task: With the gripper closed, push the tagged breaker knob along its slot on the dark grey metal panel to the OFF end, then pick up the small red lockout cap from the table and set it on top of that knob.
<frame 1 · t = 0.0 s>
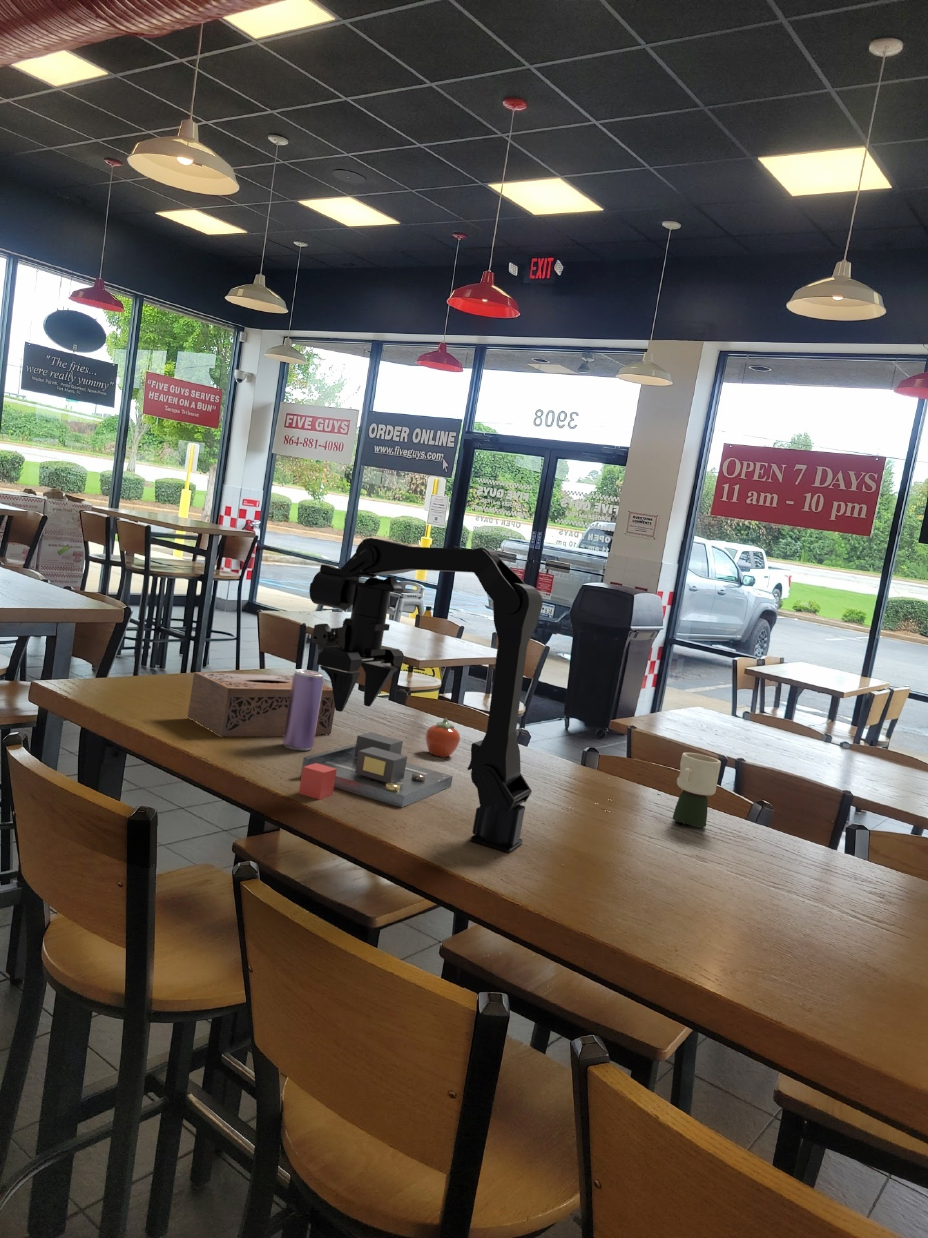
hand: (353, 708, 147), 15 cm above the table, tool pointing down, fingers open, 9 cm apart
beverage can: (297, 748, 175), on the table
lockout cap: (315, 794, 146), on the table
tissue box cover: (260, 729, 186), on the table
breaker B: (378, 748, 167), point 4 cm above the table, slide at 6.0 cm
breaker panel: (378, 782, 160), on the table
character mug: (688, 826, 167), on the table
tomato: (439, 755, 189), on the table
breaker A: (381, 764, 155), point 4 cm above the table, slide at 0.0 cm
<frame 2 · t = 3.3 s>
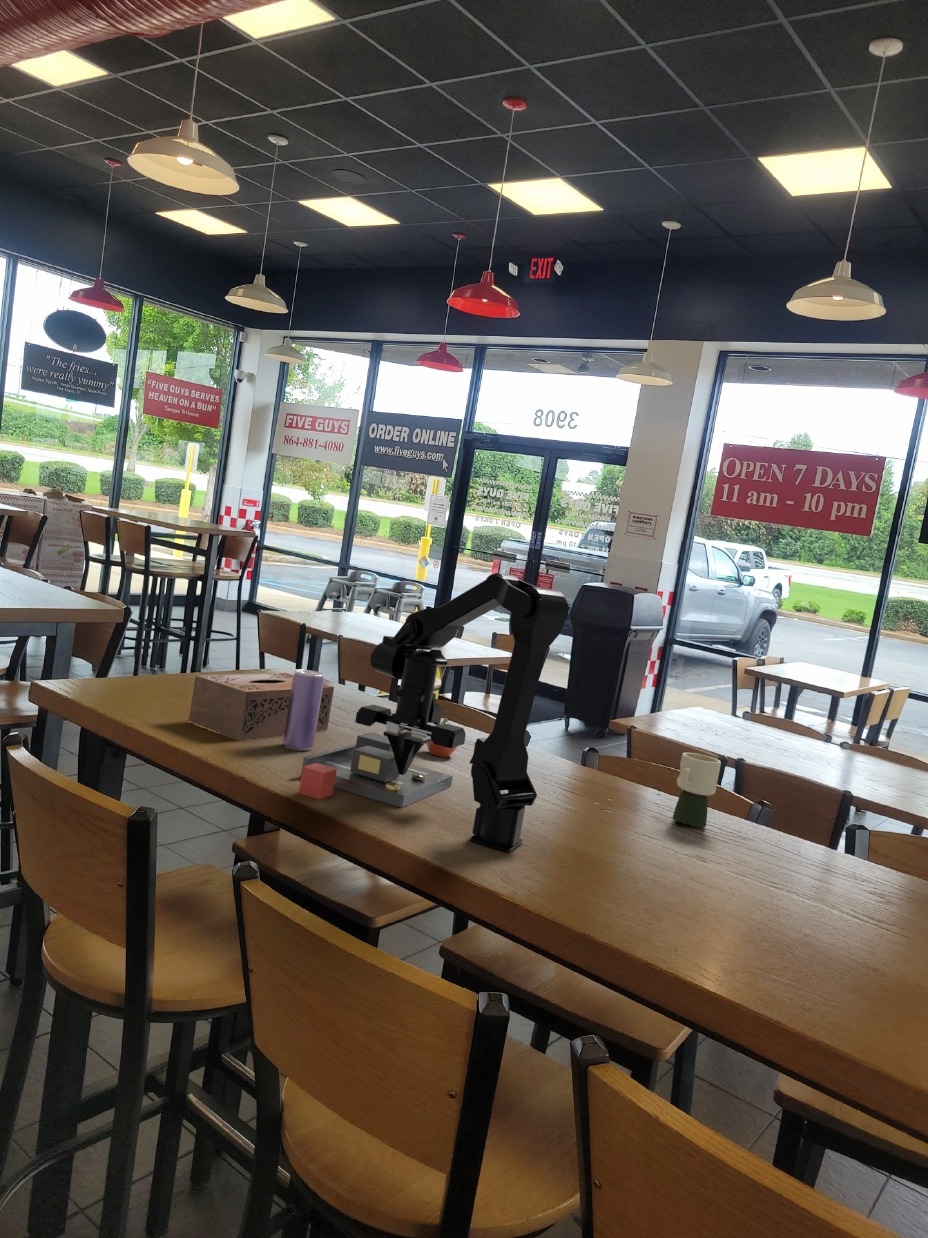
hand: (402, 774, 154), 4 cm above the table, tool pointing down, fingers closed
breaker A: (376, 763, 155), point 4 cm above the table, slide at 1.0 cm, touching gripper
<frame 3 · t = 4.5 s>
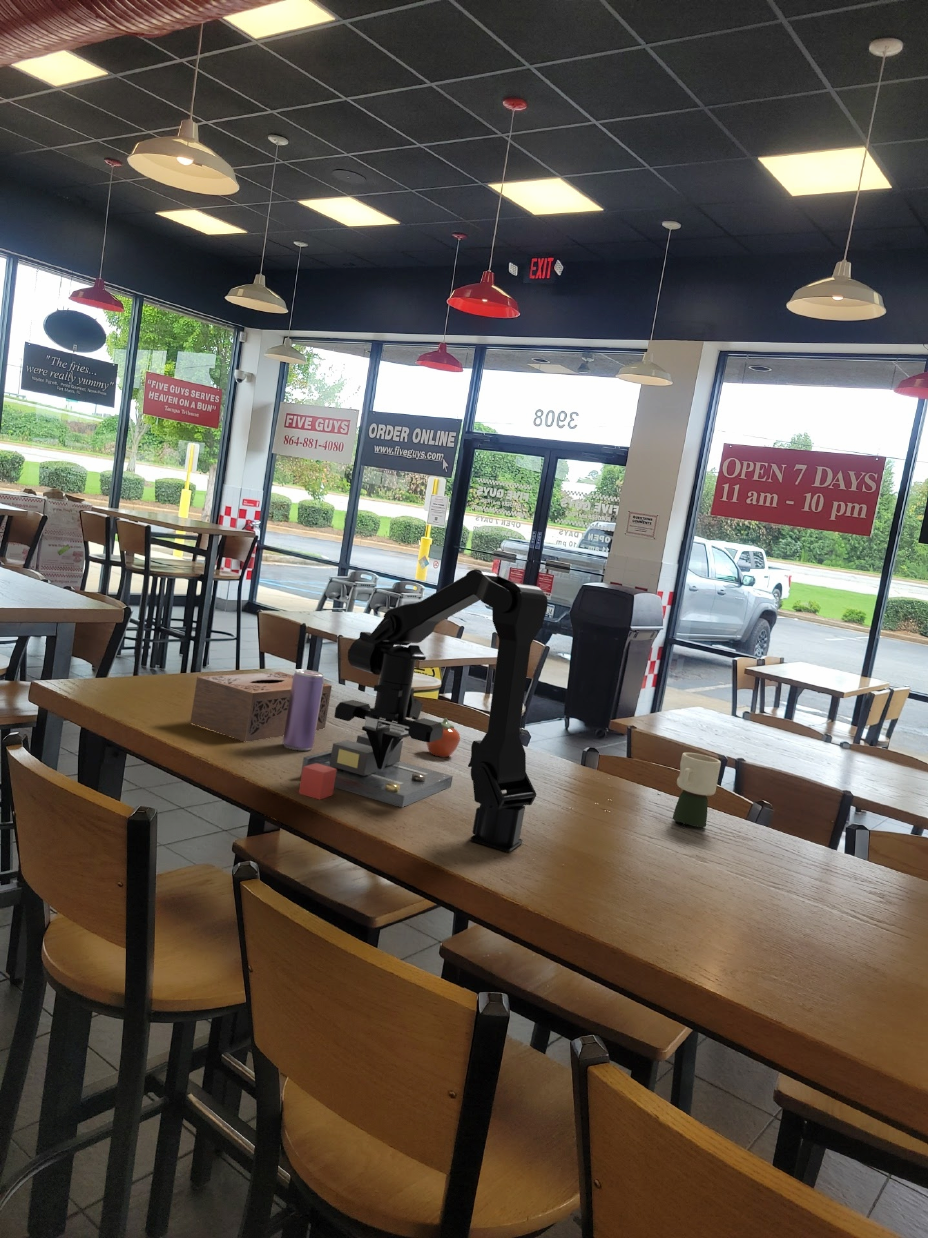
hand: (380, 768, 155), 4 cm above the table, tool pointing down, fingers closed
breaker A: (355, 757, 157), point 4 cm above the table, slide at 5.2 cm, touching gripper
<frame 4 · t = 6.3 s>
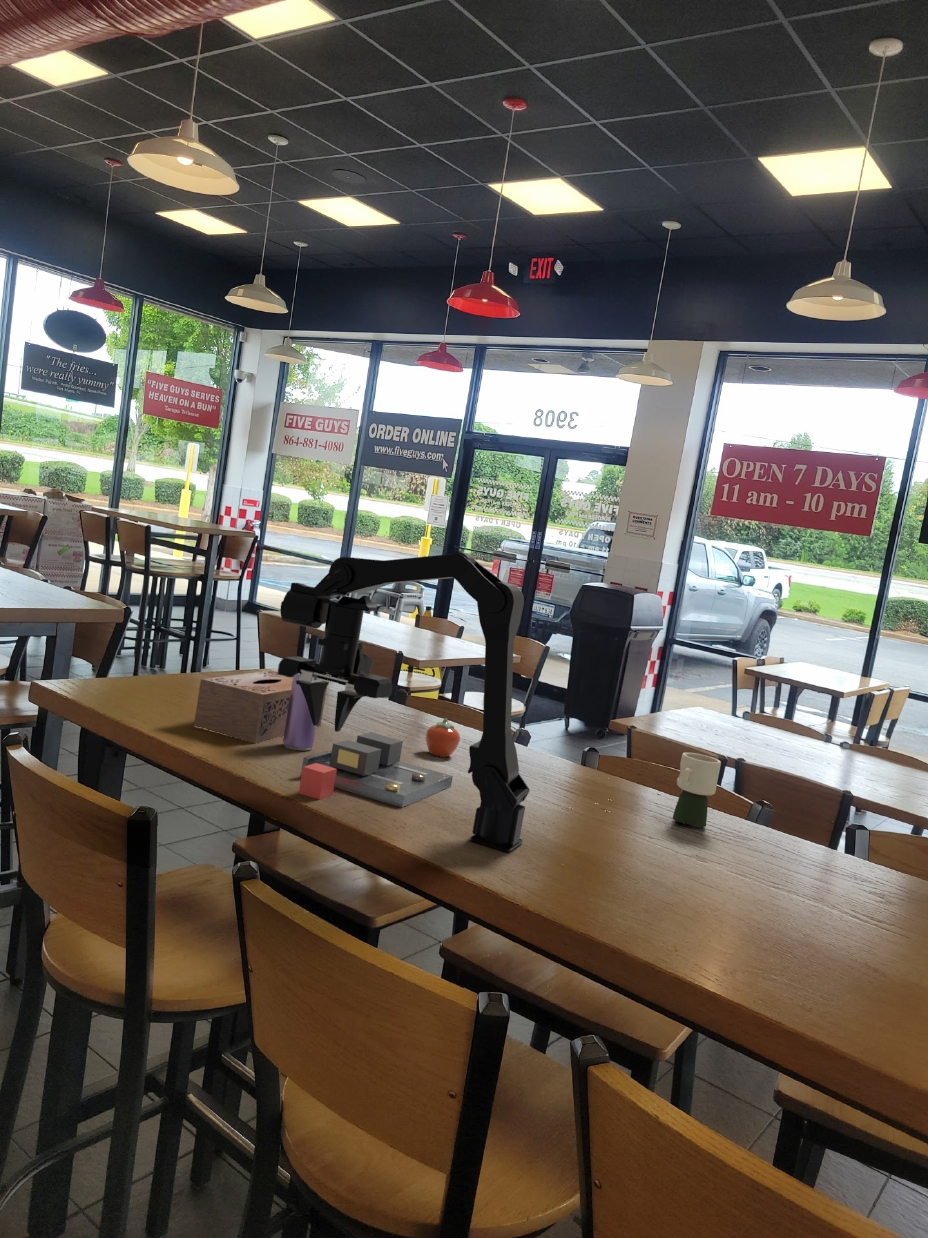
hand: (326, 728, 145), 11 cm above the table, tool pointing down, fingers open, 4 cm apart
breaker A: (355, 757, 157), point 4 cm above the table, slide at 5.2 cm
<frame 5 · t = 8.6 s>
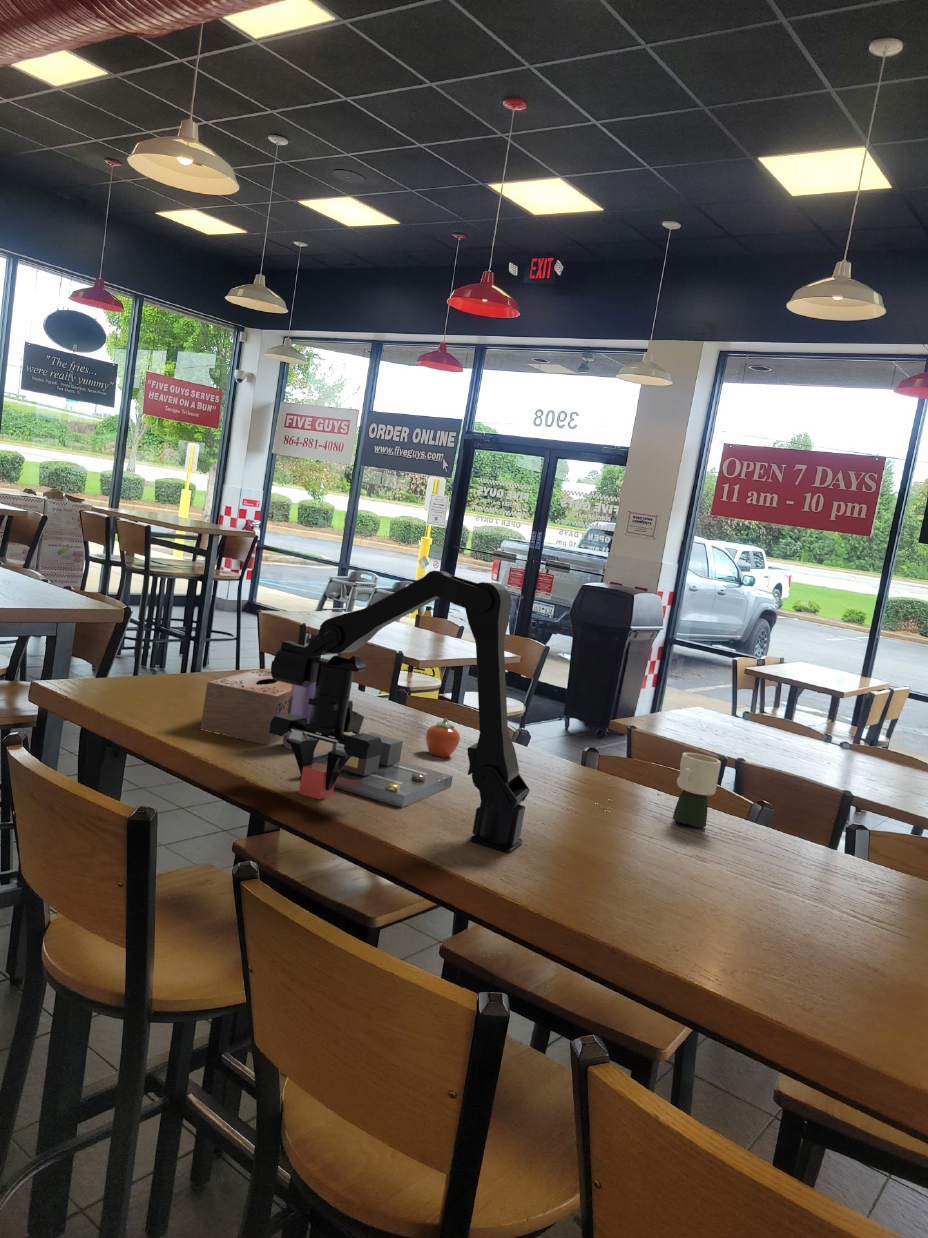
hand: (317, 786, 146), 1 cm above the table, tool pointing down, fingers closed on lockout cap, 4 cm apart
lockout cap: (315, 794, 146), on the table, touching gripper
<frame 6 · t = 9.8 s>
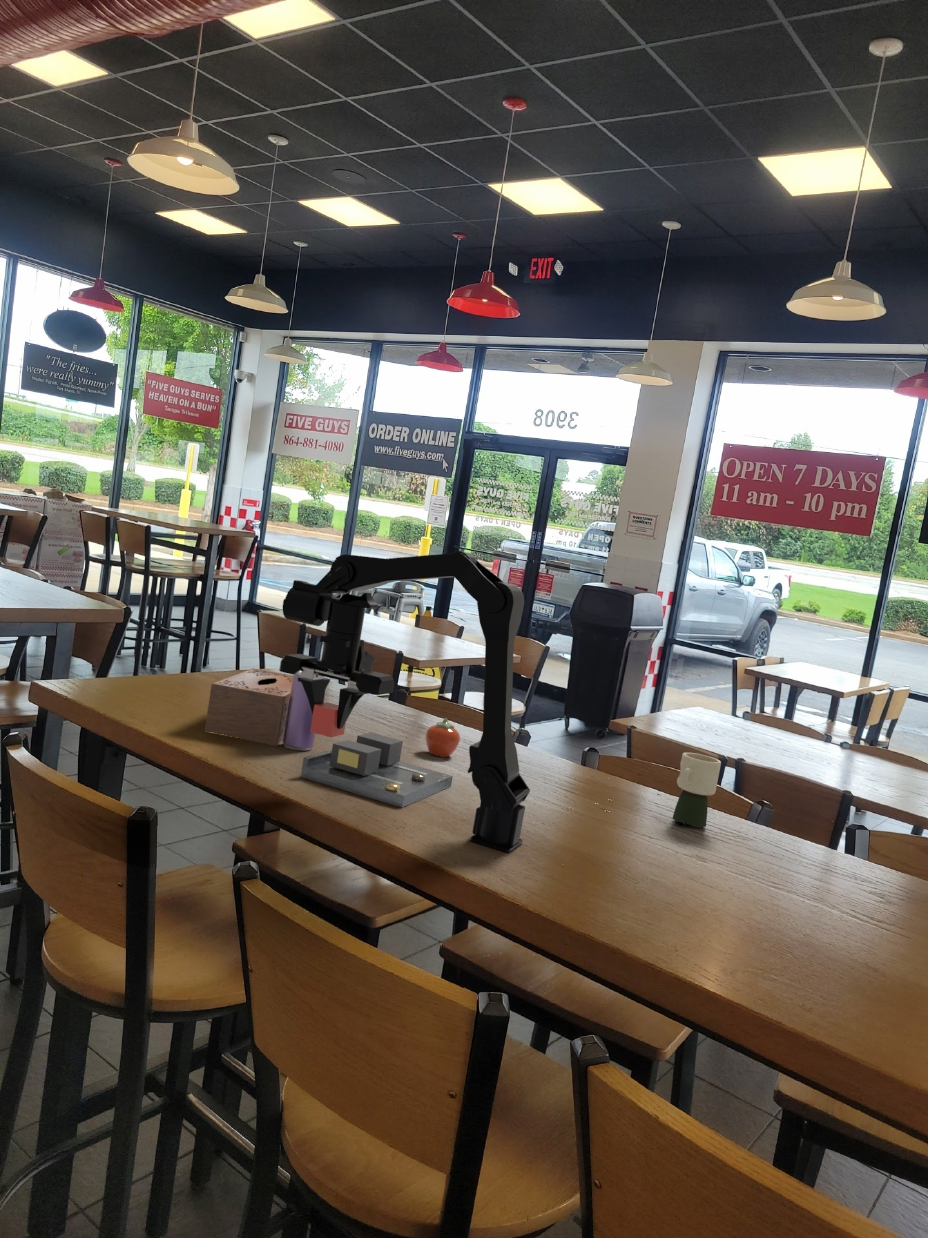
hand: (328, 725, 146), 11 cm above the table, tool pointing down, fingers closed on lockout cap, 4 cm apart
lockout cap: (327, 733, 146), point 10 cm above the table, touching gripper
when the fingers open (9 cm above the table, at t = 11.2 s): lockout cap drops 1 cm, resting on breaker A.
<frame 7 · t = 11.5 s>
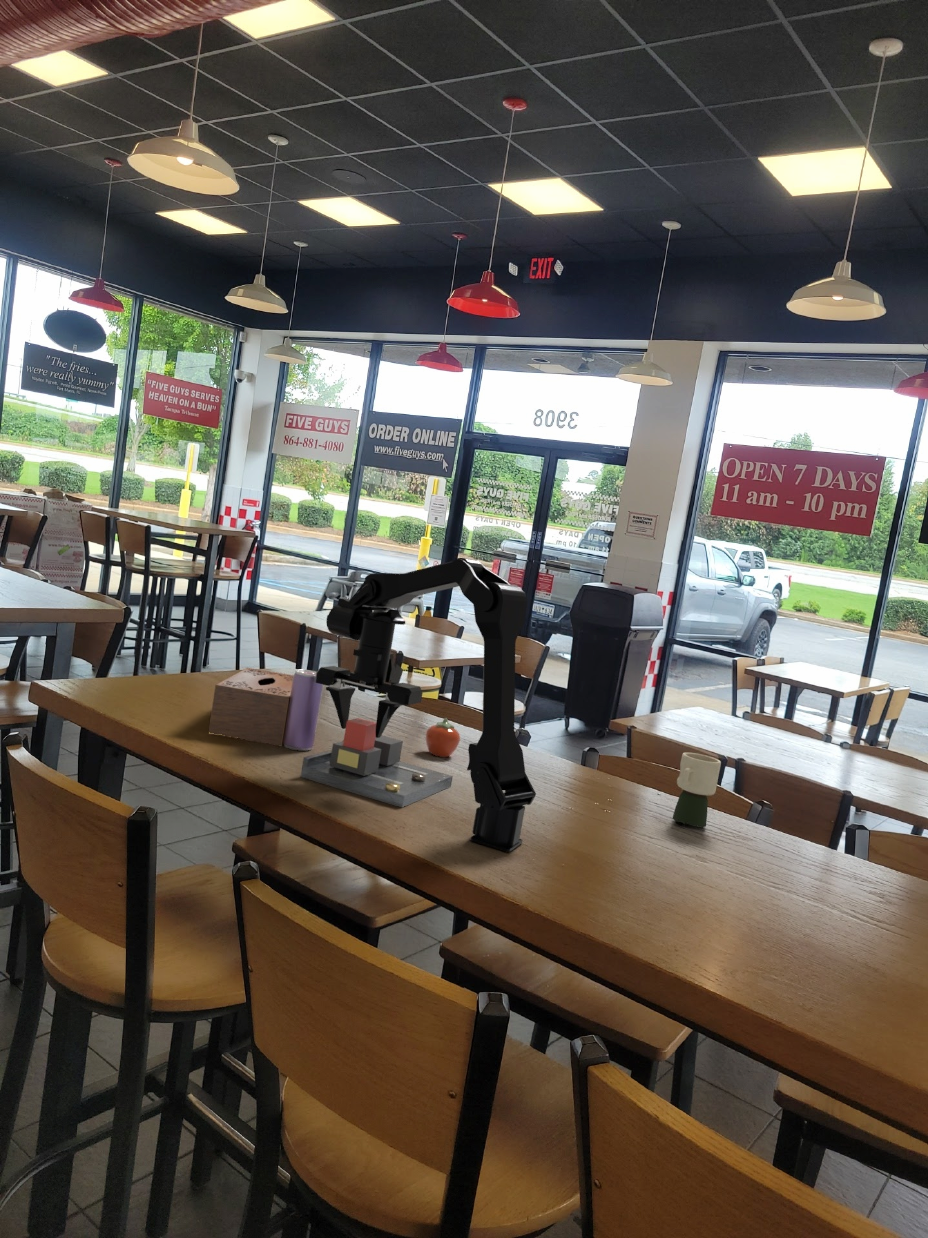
hand: (360, 733, 157), 9 cm above the table, tool pointing down, fingers open, 7 cm apart
lockout cap: (358, 746, 157), point 6 cm above the table, touching breaker A
breaker A: (355, 757, 157), point 4 cm above the table, slide at 5.2 cm, touching lockout cap
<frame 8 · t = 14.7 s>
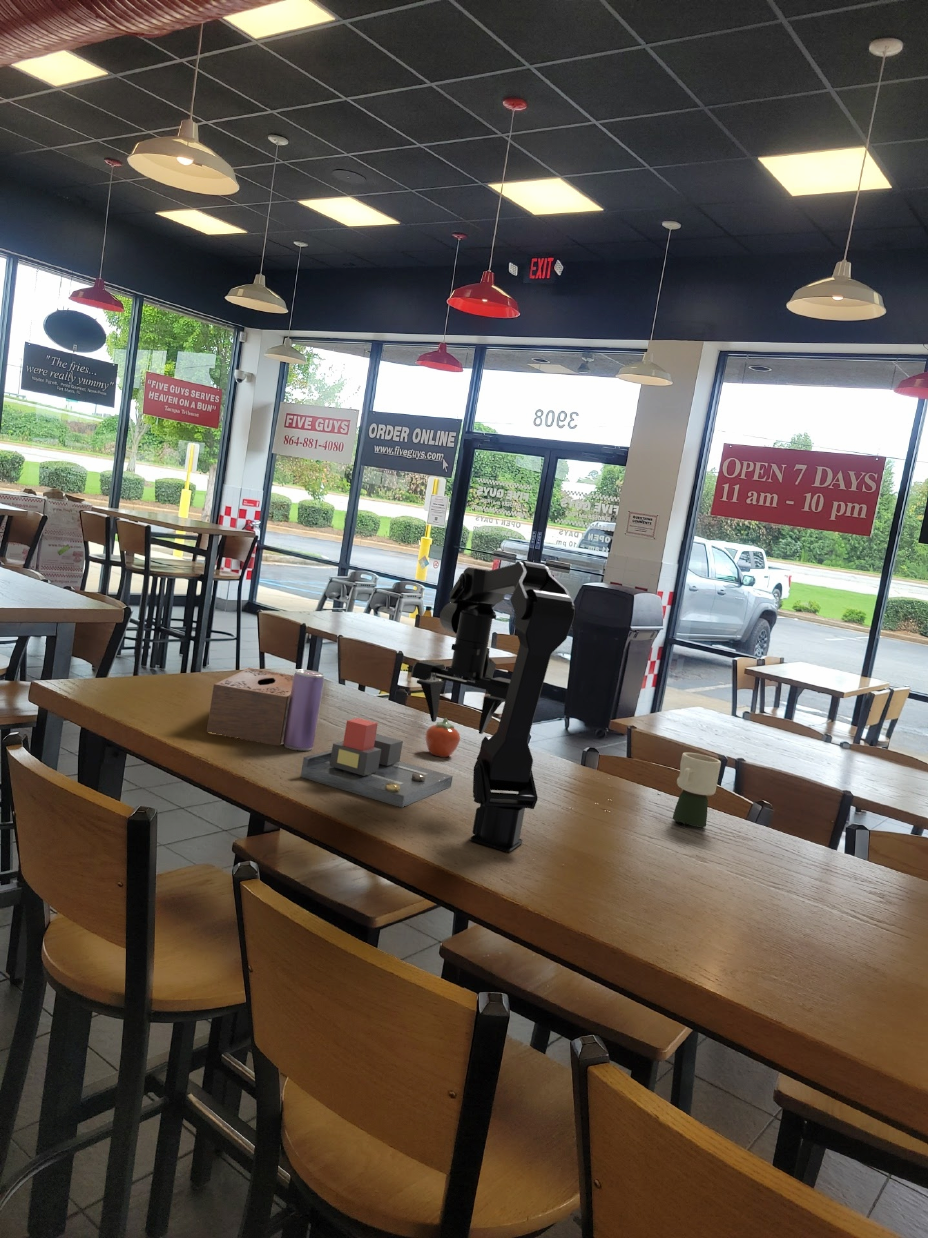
hand: (457, 727, 157), 13 cm above the table, tool pointing down, fingers open, 9 cm apart
at the end: breaker A slide at 5.2 cm; lockout cap 0.2 cm from the breaker A (horizontally); lockout cap point 6.3 cm above the table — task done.
